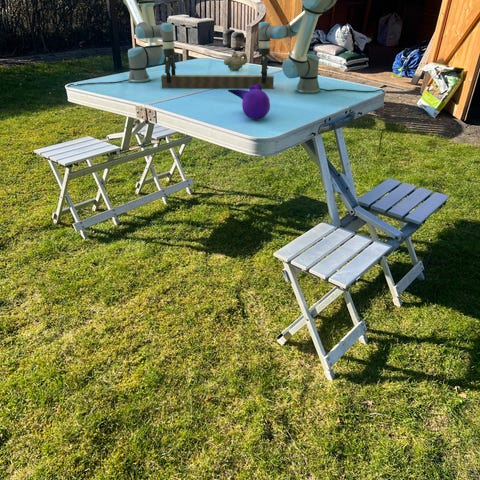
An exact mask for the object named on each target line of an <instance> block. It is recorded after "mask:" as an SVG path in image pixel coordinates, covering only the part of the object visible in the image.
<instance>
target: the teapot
mask: <svg viewBox="0 0 480 480" xmlns="http://www.w3.org/2000/svg"><path fill="white" fill-rule="evenodd" d="M242 58H243V60H242ZM247 63H248V56H247V53H246V52H242V53H240V54H238V53H237V52H236V50H233V53H232V54H231V57H226V58H225V59H224V60H223V64H224V65H225V66H227V67H228V69H229V71H231V72H237V71H240V69H242V68H243V66H244V65H246V64H247Z"/></svg>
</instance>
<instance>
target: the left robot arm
mask: <svg viewBox="0 0 480 480" xmlns="http://www.w3.org/2000/svg"><path fill="white" fill-rule="evenodd" d="M156 1H157V0H122V3H123V4H124V5H125V6H126V7H127V10H128V12H129V14H130V16H131V19H132V21H133V24H134V25H135V27H134V33H135V37H136V39H137V40H144V39H145V42H146V43H145V45H144V47H143V46H136V47H132V48H130V49H127V58H128V66H129V76H128V79H124V80H118V81H100V82H86V83H76V84H77V85H74V84H75V83H69V84H70V85H69V84H68V85H67V87H68V88H69V87H70V86H76V87H77V86H85V85H98V84H99V85H100V84H117V83H124V82H129V83H133V84H141V83H148V82H150V75H149V74H148V71H147V67H146V66H155V65H163V64H164V73H165V75H166V76H167V83H171V75H177V74H176V70H177V65H176V61H175V54H176V51H175V41H174V40H175V39H174V27H173V24H172V23H171V22H162V23H160V24H156V18H155V11H154V6H155V2H156ZM159 38H161V41H162V44H161V43H160V42H159ZM161 45H162V46H161ZM164 62H165V63H164ZM72 131H73V135H76V132H75V129H73V130H72Z"/></svg>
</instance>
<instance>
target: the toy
mask: <svg viewBox="0 0 480 480" xmlns="http://www.w3.org/2000/svg"><path fill="white" fill-rule="evenodd" d="M227 91H228V92H229V93H231V94H232V95H235V96H237V97H238V98H240V99H241V100H242V103H241V107H242V111H243V113H244V115H245V116H246V117H247V118H248V119H251V120H257V121H259V120H262V119H264V118H265V117H266V116H267V115H268V114H269V112H270V109H271V100H270V97H269V96H268V95H267V93H266V92H265V91H263V89H262V87H261V85H259V84H256V85H253V86H251V87H250V89H246V90H245V89H227Z"/></svg>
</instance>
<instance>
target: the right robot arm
mask: <svg viewBox="0 0 480 480" xmlns="http://www.w3.org/2000/svg"><path fill="white" fill-rule="evenodd" d="M301 1H302V5H303V6H302V7H303V8H302V9H303V11H302V12H300V13H299V14H298V15H297V16H295V17H294V18H293V19H292V20H290V21H289V22H288V23H286V24H283V25H271V22H270V21H260V22H259V23H258V29H257V31H258V55H260V56H261V57H260V58H261V71H260V74H261V75H262V83H266V75H268V70H269V67H268V55H270V54H271V48H270V47H271V44H272V42H271V40H282V39H286V38H293V37H296V39H295V43H294V45H293V49H292V51H291V52H289V54H288V58H286V59H285V60H284V61H283V62H282V69H281V70H282V72H283V75H284V76H285V77H286V78H288V79H296V78H299V80H298V82H297V86H296V90H295V91H296V93H299V94H317V93H319V92H320V91H324V92H334V91H335V92H336V91H344V92H345V91H346V92H355V93H356V92H357V93H376V92H381V91H382V92H383V93H385V92H386V91H385V90H384V89H383V88H379V89H375V90H357V89H345V88H335V89H334V88H333V89H325V88H321V87H320V84H319V81H318V78H319V77H318V76H319V65H320V57H319V55H318V54H312V53H308V51H309V48H310V45H311V43H312V38H313V35H314V33H315V29H316V26H317V23H318V21H319V20H318V19H319V17H320V16H322V15H323V13H324V12H328V10H330V9H331V8H332V7H333V6H334V5H335V4H336V2H337V1H338V0H301ZM383 133H384V129H381V133H380V139H379V140H380V141H379V145H378V153H380V152H381V145H382V138H383Z"/></svg>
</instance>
